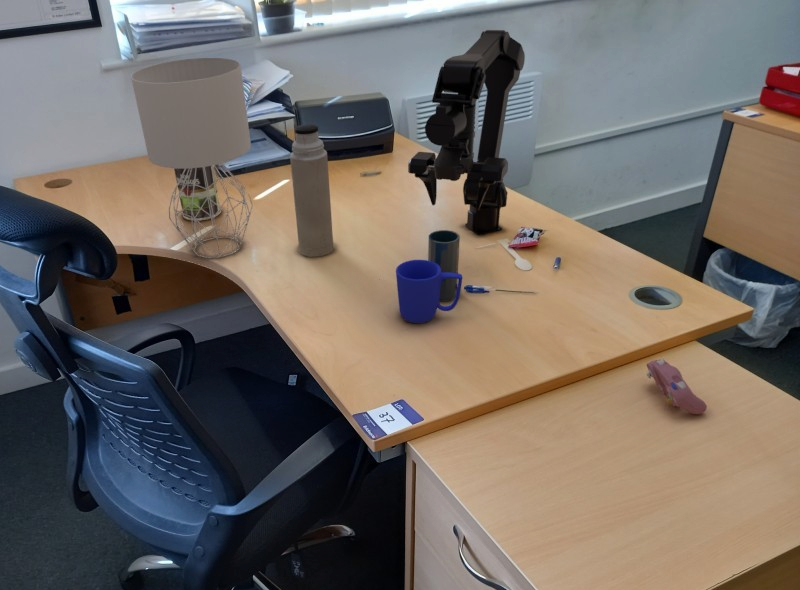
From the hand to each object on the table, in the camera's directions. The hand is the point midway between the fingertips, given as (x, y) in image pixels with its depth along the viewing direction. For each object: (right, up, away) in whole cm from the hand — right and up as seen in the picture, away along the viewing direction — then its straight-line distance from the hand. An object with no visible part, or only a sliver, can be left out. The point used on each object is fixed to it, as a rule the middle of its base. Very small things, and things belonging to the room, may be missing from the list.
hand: (455, 207), depth 140 cm
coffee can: (-59, +7, +41) cm, 72 cm away
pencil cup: (-3, -18, -3) cm, 19 cm away
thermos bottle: (-29, -6, +18) cm, 34 cm away
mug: (-7, -23, -9) cm, 26 cm away
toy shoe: (+27, -37, -34) cm, 57 cm away
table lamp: (-52, -5, +23) cm, 57 cm away
